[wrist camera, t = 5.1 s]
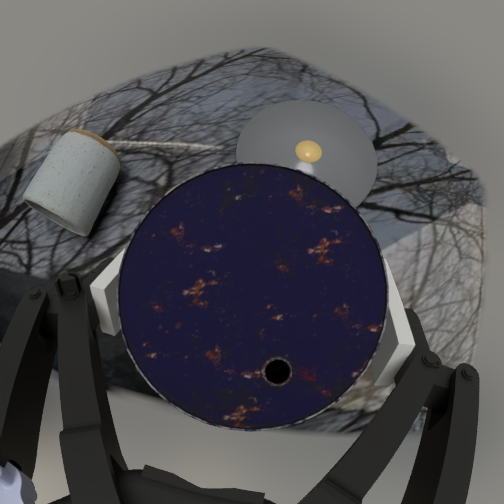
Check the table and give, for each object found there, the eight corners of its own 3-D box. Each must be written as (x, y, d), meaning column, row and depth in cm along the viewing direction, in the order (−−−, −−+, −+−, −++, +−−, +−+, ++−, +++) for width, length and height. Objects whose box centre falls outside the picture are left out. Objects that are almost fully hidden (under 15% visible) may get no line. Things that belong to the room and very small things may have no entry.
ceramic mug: (136, 169, 29) (103, 124, 21) (101, 244, 27) (54, 214, 19) (68, 154, 30) (33, 118, 23) (36, 217, 28) (-7, 189, 21)
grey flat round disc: (217, 134, 29) (214, 125, 28) (328, 96, 30) (330, 87, 29) (275, 248, 26) (275, 243, 24) (396, 192, 27) (402, 185, 25)
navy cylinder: (184, 277, 26) (95, 208, 11) (296, 240, 26) (327, 132, 12) (220, 391, 23) (161, 460, 9) (336, 352, 23) (425, 372, 9)
